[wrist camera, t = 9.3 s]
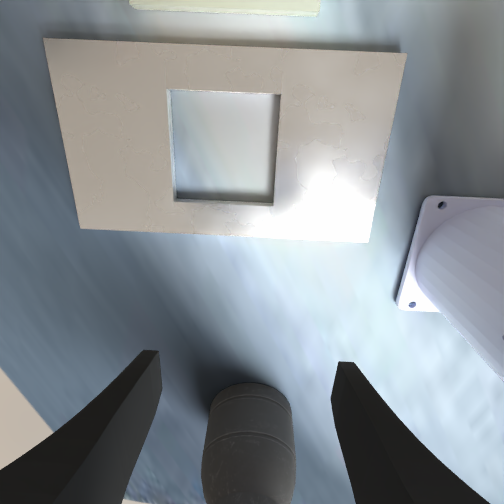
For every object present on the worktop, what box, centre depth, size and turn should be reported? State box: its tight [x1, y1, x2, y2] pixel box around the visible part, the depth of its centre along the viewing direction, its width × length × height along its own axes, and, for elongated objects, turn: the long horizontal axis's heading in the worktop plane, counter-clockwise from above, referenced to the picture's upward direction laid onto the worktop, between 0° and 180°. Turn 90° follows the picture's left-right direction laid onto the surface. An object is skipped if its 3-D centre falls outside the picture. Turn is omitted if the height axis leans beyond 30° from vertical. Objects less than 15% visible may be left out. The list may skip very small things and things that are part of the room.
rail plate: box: [43, 38, 407, 242], centre depth 17 cm, size 18×10×1 cm, turn 88°
